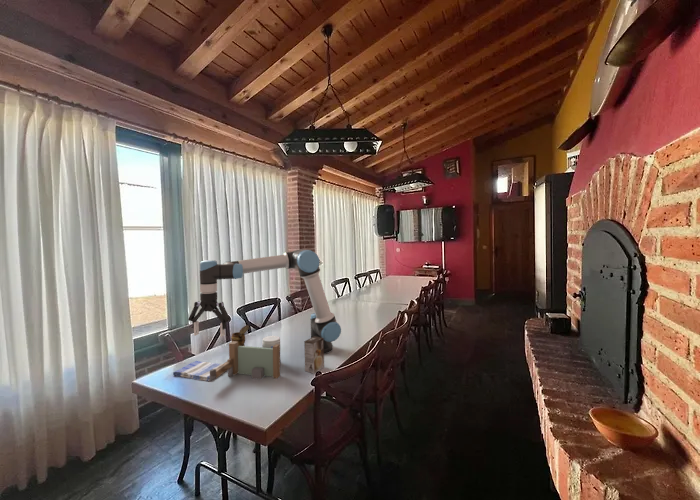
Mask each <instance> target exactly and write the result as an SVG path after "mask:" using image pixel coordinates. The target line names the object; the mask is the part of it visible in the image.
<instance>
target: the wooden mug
mask: <svg viewBox="0 0 700 500" xmlns="http://www.w3.org/2000/svg"><path fill="white" fill-rule="evenodd" d="M249 328H250V326H249V325H248V324H246V325H244V326H243V327H242V328H240V330H239V332H238V331H237V332H233V333H232V334H231V337H230V339H231V342H232V341H236V342H238V346H246V345H245V343H246V335H245V334H246V333H247V331H248V330H249ZM231 342H230V343H231Z"/></svg>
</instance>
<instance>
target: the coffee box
mask: <svg viewBox="0 0 700 500" xmlns="http://www.w3.org/2000/svg"><path fill="white" fill-rule="evenodd" d="M303 346H304V371H305V372H308V373H312V374H316V373H317V372H319V371H320V370H322V369H323V368H325V354H324V338H321V337H315V336H314V337H312V338H311V337H310V338H308V339H306V340H305V341H304V345H303ZM318 370H319V371H318Z"/></svg>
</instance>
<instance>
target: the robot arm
mask: <svg viewBox="0 0 700 500" xmlns="http://www.w3.org/2000/svg"><path fill="white" fill-rule="evenodd" d="M276 269H277V270H278V269H287V270H289V269H297V271H298V274H299V277H300V278H301V279H303V281H304V284H305V287H306V290H307V292H308V295H309V298H310V299H309V300H310V302H311V306H312V309H313V311H314V313H311V314H310V338H312V337H314V336H315V337H321V338H324V355H325V354H328V353H331V352H332V351H333V349H334V348H333V347H334V346H333V345H334V344H333V342H335V341H337V340H338V339H339V338H340V336H341V334H342V328H341V325H340V324H339V323H338V322H337V320H336V316H335V313H334V312H331V309H330V305H329V302H328V299H327V297H326V296H327V295H326V293H325V290H324V286H323V284H322V280H321V277H320V272H321V269H320V257H319V255H318V254H317V253H316V252H315V251H313V250H311V249H296V250H293V251H287V252H284V253H283V254H278V255H270V256H264V257H262V256H261V257H256V258H247V259H240V260H235V261H225V262H223V263H221V264H220V263H218V262H217V260H213V259H212V260H207V259H206V260H202V261H200V263H199V287H200V288H199V292H200V295H199V297H200V301H199V300H198V301H195V302H194V303H193V308H192V310H191V313H190V315H189V317H188V321H191V323H192V329H193V336H198V335H199V334H200V325H199V324H200V323H199V322H200V321H199V318H200V317H201V316H202V315H203V314H204V312H206V313H207V312H210V313H211V312H212V313H214V315H215V316H216V317H217V318H218V319H219V321H220V322H221V323H220V324H219V326H220V327H219V328H220V329H219V331H220V334H219V335H220V338H221V337H224V336H225V335H226V331H225V330H226V329H227V323H228V322H230V321H231V318H230V316H229V314H228V311H227V310H226V308H225V304H224V301H221V302H218V292H217V291H218V280H237V279H242V278H243V277H244V275H246V274H251V273H257V272H258V273H259V272H264V271H265V272H266V271H271V270H276ZM200 307H201V308H200ZM199 308H200V309H199ZM198 310H199V311H198Z"/></svg>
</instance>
